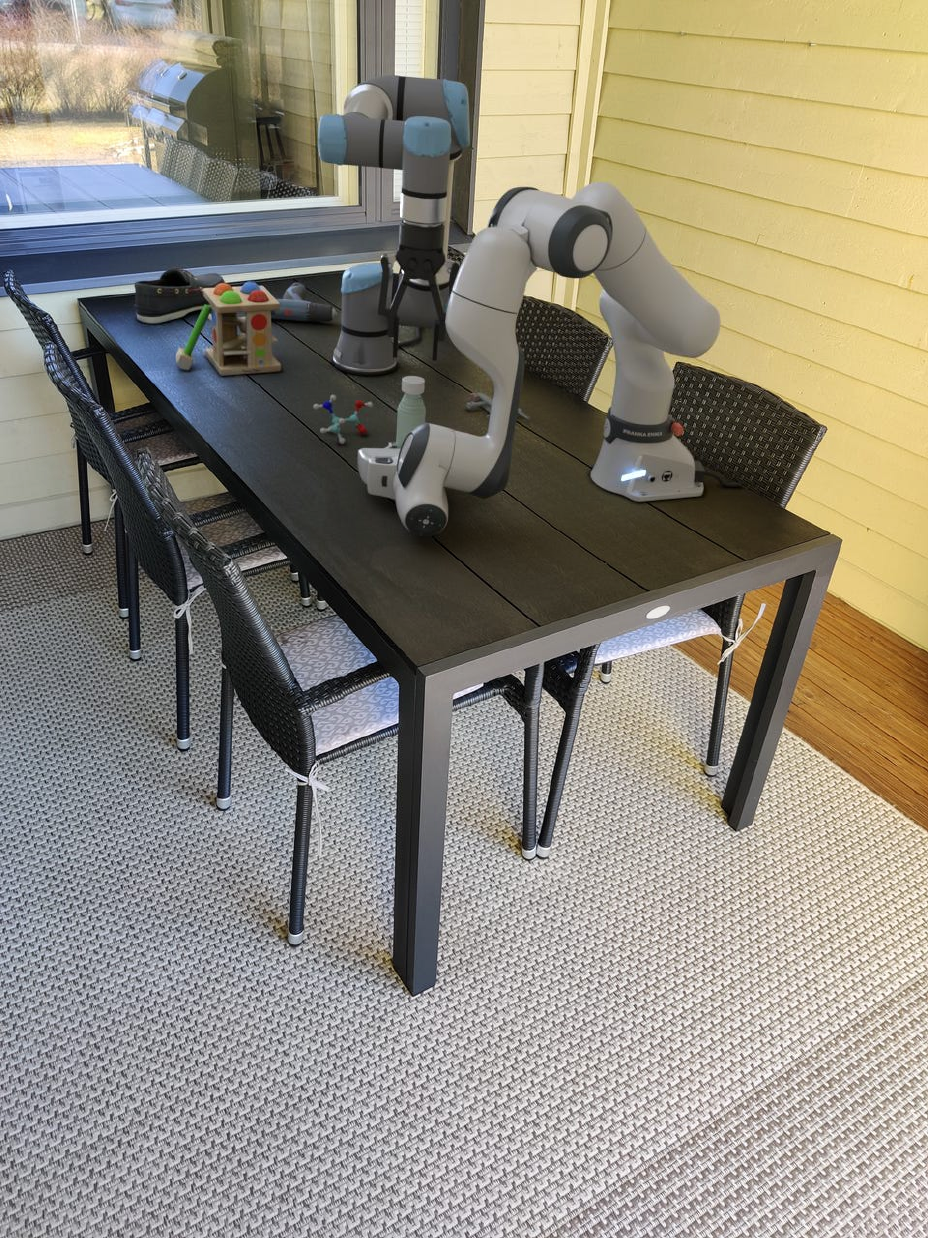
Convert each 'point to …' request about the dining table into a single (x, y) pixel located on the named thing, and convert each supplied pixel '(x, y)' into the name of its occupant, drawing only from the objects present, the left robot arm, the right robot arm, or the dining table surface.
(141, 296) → the boat shoe
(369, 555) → the dining table surface
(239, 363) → the pounding bench toy
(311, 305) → the power drill
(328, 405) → the molecular model
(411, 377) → the cap
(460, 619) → the dining table surface
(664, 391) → the right robot arm
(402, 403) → the bottle
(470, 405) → the clamp
